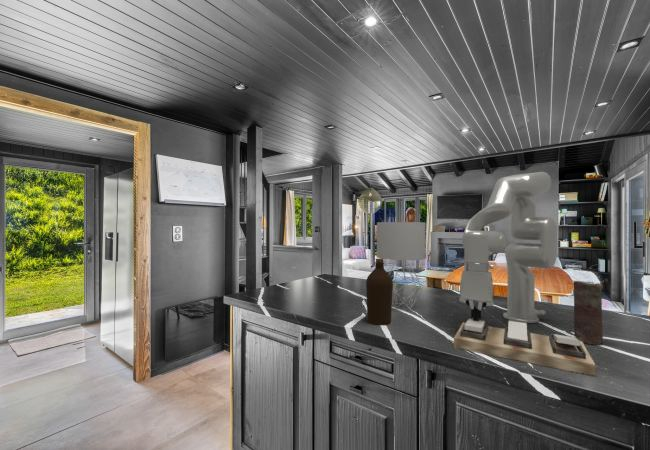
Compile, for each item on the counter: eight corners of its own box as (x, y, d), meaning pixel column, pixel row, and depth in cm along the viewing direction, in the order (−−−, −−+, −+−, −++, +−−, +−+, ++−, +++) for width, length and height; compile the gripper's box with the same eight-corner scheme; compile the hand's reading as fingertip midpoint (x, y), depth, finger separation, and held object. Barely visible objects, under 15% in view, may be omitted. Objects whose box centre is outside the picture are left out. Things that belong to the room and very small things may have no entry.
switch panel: (582, 351, 95) (582, 336, 95) (595, 376, 79) (595, 358, 79) (462, 330, 113) (463, 318, 113) (453, 347, 97) (454, 333, 97)
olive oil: (373, 327, 116) (374, 260, 116) (361, 318, 126) (361, 257, 126) (397, 324, 120) (398, 260, 120) (383, 316, 130) (384, 257, 130)
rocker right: (573, 342, 93) (573, 337, 93) (580, 346, 84) (579, 340, 84) (553, 338, 96) (553, 334, 96) (557, 342, 87) (557, 337, 87)
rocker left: (484, 325, 106) (484, 321, 106) (481, 332, 97) (481, 327, 97) (468, 322, 109) (469, 318, 109) (464, 329, 99) (464, 325, 99)
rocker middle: (526, 327, 99) (526, 323, 99) (527, 345, 90) (527, 340, 90) (508, 324, 102) (508, 320, 102) (507, 341, 93) (507, 337, 93)
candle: (567, 337, 107) (568, 279, 107) (587, 336, 108) (587, 279, 108) (588, 345, 100) (588, 284, 100) (609, 345, 100) (609, 283, 100)
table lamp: (392, 298, 162) (393, 222, 162) (433, 306, 146) (433, 222, 147) (366, 306, 146) (367, 222, 146) (409, 316, 130) (410, 222, 131)
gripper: (501, 267, 106) (501, 321, 106) (455, 264, 114) (455, 314, 114) (500, 270, 99) (500, 327, 99) (451, 267, 107) (451, 319, 107)
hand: (476, 320), depth 107 cm, fingers closed
